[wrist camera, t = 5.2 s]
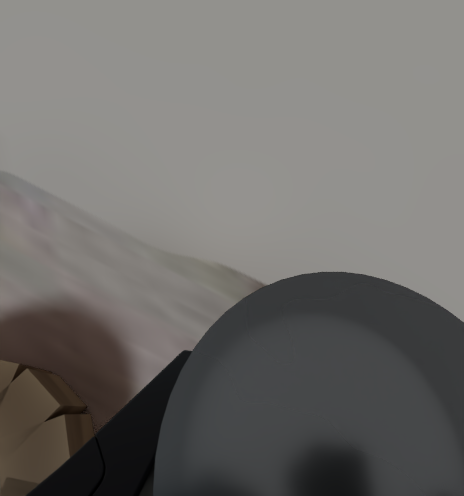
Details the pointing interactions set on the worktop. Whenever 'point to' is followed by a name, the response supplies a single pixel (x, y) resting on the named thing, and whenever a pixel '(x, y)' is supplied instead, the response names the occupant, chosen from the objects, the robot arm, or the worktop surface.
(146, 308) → the worktop surface
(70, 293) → the worktop surface
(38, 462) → the segmented wooden ring
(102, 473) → the robot arm
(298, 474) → the tall steel post
